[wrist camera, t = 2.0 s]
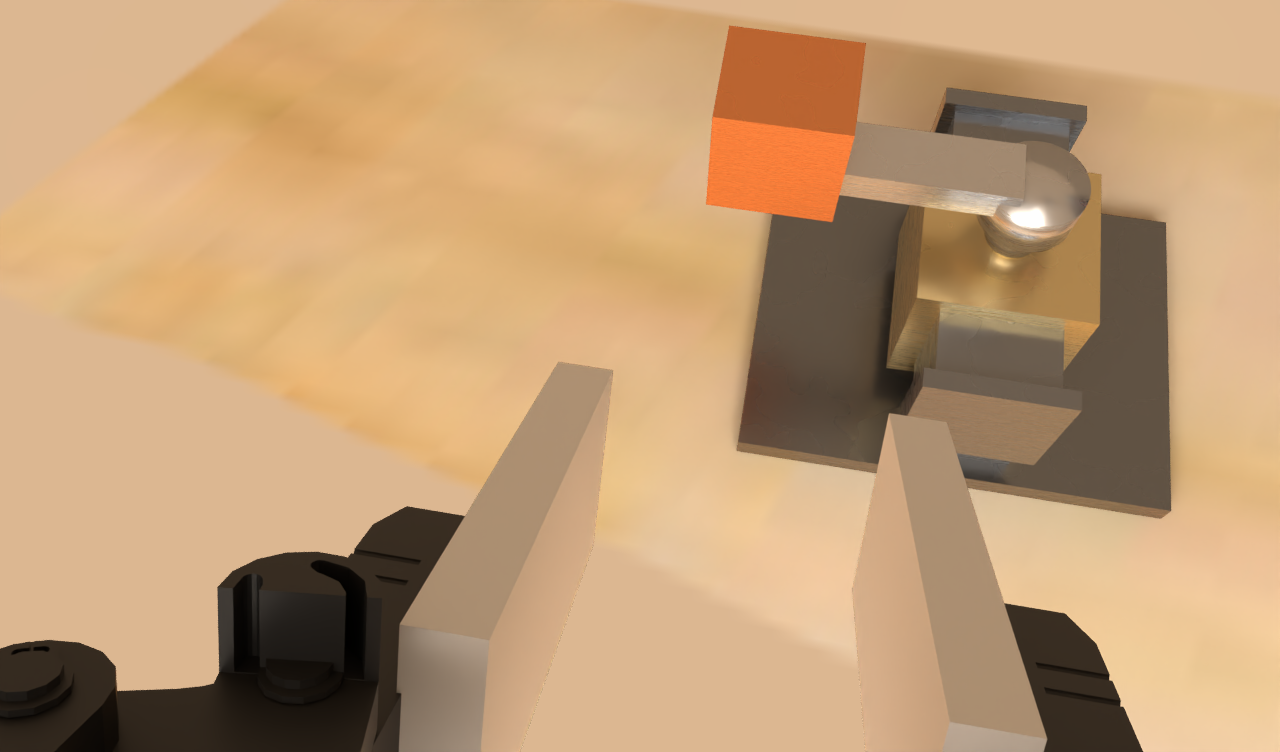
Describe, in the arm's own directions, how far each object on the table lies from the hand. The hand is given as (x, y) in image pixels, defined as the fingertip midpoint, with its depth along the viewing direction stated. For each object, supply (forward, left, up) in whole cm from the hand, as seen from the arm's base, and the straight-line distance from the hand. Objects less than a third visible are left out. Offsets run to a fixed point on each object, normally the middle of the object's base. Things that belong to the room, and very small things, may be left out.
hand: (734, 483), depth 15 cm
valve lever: (-3, -14, -13) cm, 20 cm away
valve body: (-7, -14, -21) cm, 27 cm away
